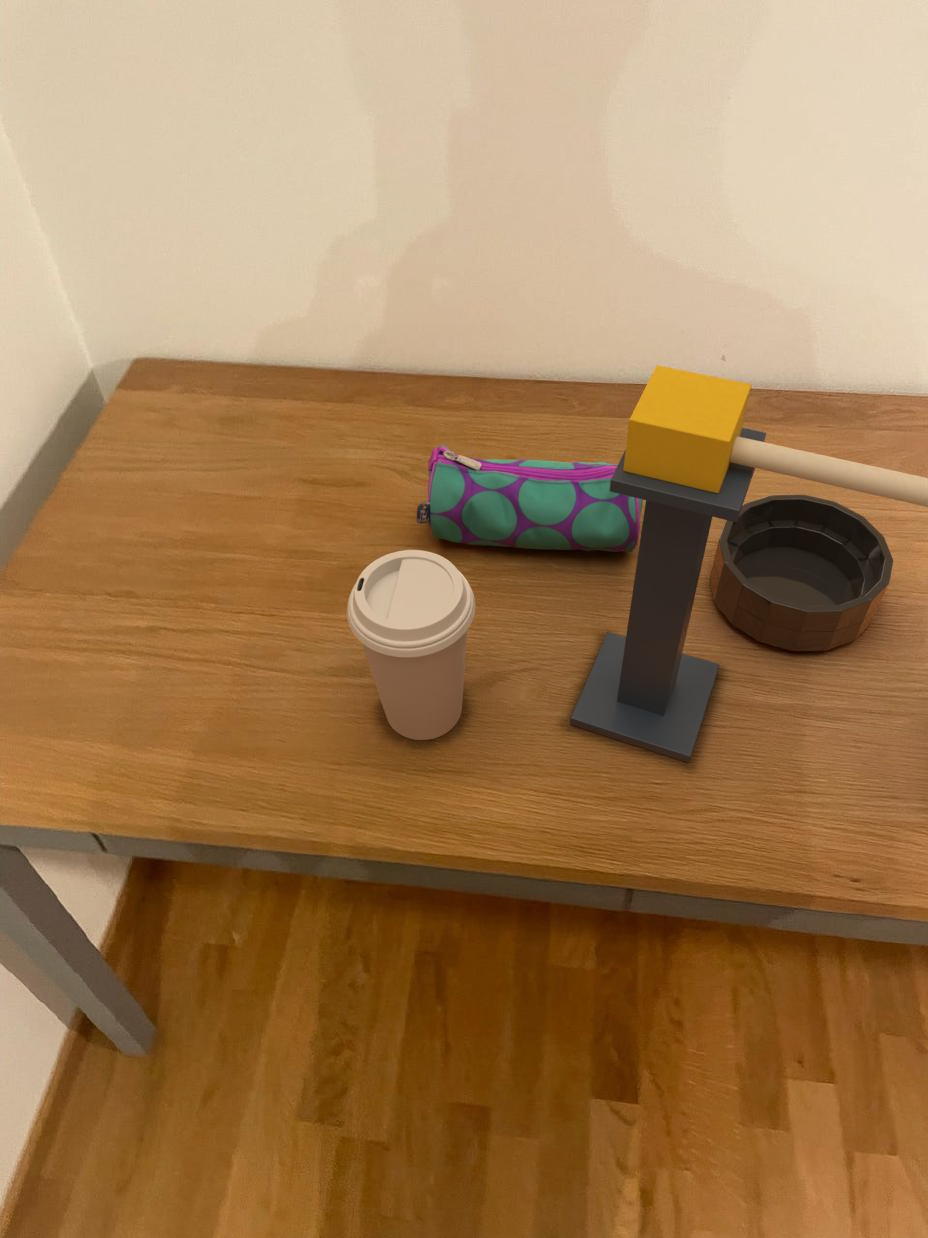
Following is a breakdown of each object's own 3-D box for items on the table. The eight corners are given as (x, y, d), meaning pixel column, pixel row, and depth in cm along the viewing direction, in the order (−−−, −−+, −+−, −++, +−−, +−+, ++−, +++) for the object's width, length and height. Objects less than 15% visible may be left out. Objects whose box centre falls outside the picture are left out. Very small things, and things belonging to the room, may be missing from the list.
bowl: (881, 563, 87) (901, 516, 83) (859, 676, 79) (880, 631, 74) (728, 525, 91) (740, 479, 87) (692, 629, 83) (702, 583, 78)
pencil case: (420, 559, 90) (412, 483, 83) (434, 498, 96) (427, 422, 88) (636, 574, 88) (647, 497, 80) (637, 511, 93) (648, 434, 86)
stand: (718, 671, 80) (785, 426, 60) (688, 763, 74) (752, 525, 54) (606, 638, 83) (636, 394, 63) (569, 724, 77) (589, 485, 57)
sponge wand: (955, 483, 56) (981, 429, 53) (946, 548, 52) (973, 495, 49) (649, 416, 61) (656, 364, 58) (622, 471, 58) (628, 419, 55)
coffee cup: (406, 649, 83) (390, 526, 71) (500, 690, 79) (498, 568, 68) (345, 726, 77) (316, 607, 66) (442, 774, 74) (429, 657, 63)
